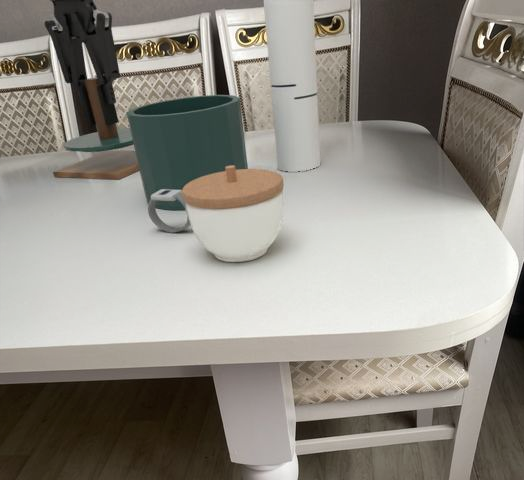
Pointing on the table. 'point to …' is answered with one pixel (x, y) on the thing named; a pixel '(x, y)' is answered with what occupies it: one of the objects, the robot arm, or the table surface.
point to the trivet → (102, 166)
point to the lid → (99, 128)
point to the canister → (186, 141)
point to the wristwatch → (166, 196)
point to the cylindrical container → (293, 82)
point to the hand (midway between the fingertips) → (103, 123)
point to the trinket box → (236, 212)
